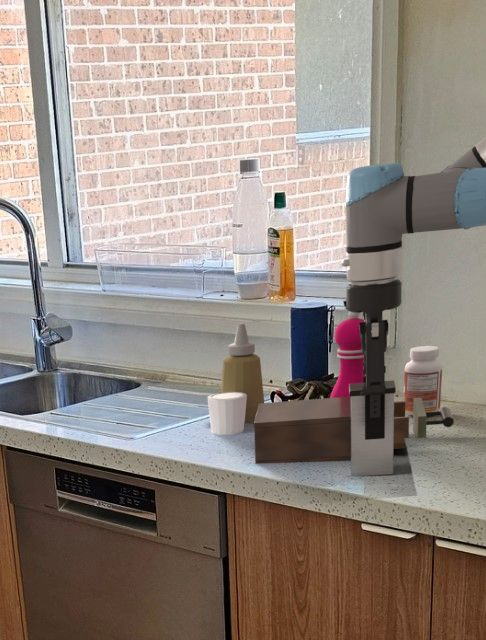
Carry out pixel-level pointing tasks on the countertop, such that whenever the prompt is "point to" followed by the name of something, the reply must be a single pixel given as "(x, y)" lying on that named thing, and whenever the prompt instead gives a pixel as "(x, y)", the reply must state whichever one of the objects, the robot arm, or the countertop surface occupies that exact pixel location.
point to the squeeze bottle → (243, 373)
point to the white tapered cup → (227, 412)
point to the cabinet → (303, 431)
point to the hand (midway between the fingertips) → (373, 428)
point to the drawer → (416, 421)
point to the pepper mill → (348, 355)
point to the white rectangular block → (373, 452)
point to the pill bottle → (423, 379)
